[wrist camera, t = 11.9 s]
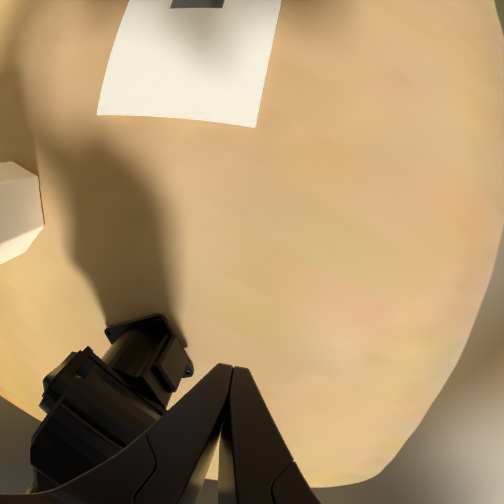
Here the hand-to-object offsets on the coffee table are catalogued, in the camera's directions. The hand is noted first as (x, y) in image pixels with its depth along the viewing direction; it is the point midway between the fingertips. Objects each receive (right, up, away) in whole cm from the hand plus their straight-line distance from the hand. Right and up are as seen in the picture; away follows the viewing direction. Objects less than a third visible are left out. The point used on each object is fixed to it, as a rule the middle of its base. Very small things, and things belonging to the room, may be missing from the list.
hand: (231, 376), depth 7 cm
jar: (-22, +8, +13) cm, 26 cm away
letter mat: (-3, +23, +7) cm, 24 cm away
